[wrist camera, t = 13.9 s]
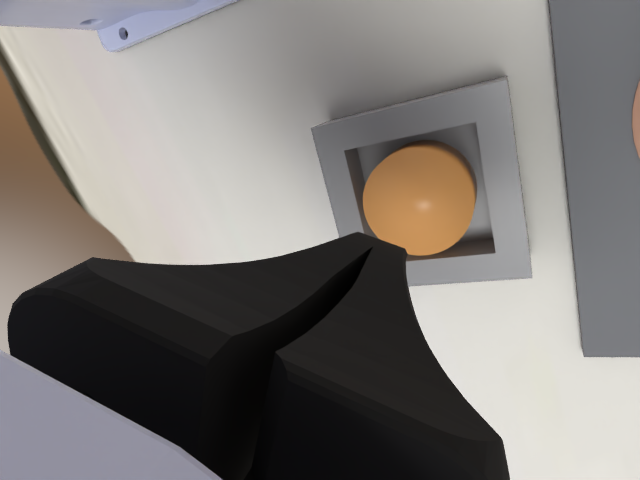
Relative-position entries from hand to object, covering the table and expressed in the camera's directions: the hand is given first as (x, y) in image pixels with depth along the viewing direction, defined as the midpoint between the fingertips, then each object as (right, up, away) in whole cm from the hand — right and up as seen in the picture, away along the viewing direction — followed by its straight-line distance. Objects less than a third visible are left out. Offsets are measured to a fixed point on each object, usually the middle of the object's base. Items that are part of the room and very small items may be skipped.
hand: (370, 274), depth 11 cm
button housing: (+3, +3, +7) cm, 8 cm away
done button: (+3, +3, +7) cm, 8 cm away
